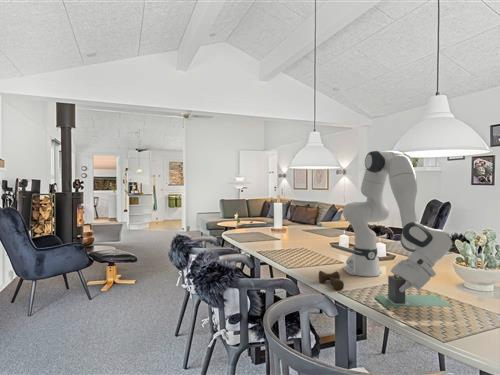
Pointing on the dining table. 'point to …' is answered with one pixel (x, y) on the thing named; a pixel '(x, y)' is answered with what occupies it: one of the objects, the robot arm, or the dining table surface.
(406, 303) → the board
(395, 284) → the block
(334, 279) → the kendama
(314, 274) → the dining table surface
